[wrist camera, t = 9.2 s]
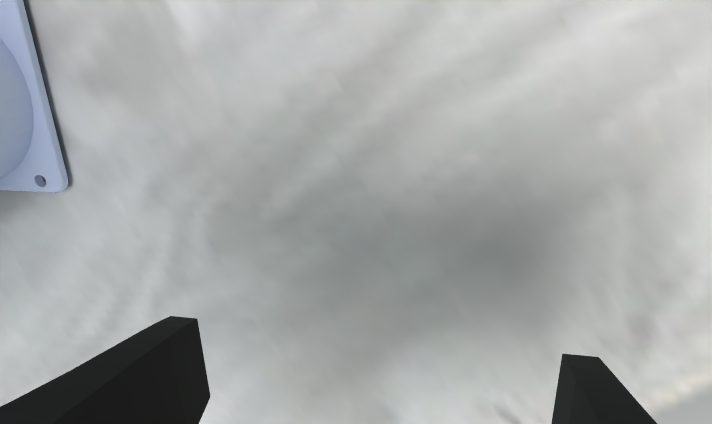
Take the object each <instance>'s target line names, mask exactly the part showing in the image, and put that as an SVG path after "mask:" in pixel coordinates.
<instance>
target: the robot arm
mask: <svg viewBox="0 0 712 424" xmlns="http://www.w3.org/2000/svg"><path fill="white" fill-rule="evenodd" d="M42 176H43V177H44V178H45V180H46V182H44V181H43V179H42ZM67 186H68V177H67V173H66V169H65V165H64V161H63V157H62V153H61V149H60V145H59V141H58V137H57V133H56V129H55V125H54V121H53V117H52V113H51V110H50V106H49V102H48V98H47V94H46V90H45V86H44V82H43V78H42V74H41V70H40V66H39V62H38V58H37V54H36V50H35V46H34V42H33V38H32V34H31V30H30V26H29V22H28V18H27V14H26V10H25V6H24V2H23V0H0V190H9V191H29V192H50V193H56V192H60V191H62V190H64V189H66V188H67ZM209 399H210V392H209V386H208V380H207V374H206V368H205V362H204V356H203V351H202V345H201V339H200V333H199V327H198V321H197V319H194V318H184V317H174V316H170V317H168V318H166V319H164V320H161V321H159V322H157V323H155V324H153V325H152V326H150V327H148V328H146V329H144V330H142V331H140V332H139V333H137V334H135V335H133V336H131V337H130V338H128V339H126V340H124V341H122V342H121V343H119V344H117V345H115V346H114V347H112V348H110V349H108V350H107V351H105V352H103V353H101V354H99V355H98V356H96V357H94V358H92V359H90V360H89V361H87V362H85V363H83V364H82V365H80V366H78V367H76V368H74V369H73V370H71V371H69V372H67V373H65V374H63V375H61V376H59V377H57V378H56V379H54V380H52V381H50V382H48V383H46V384H44V385H42V386H40V387H38V388H36V389H34V390H32V391H31V392H29V393H27V394H25V395H23V396H21V397H19V398H17V399H15V400H13V401H11V402H9V403H7V404H5V405H3V406H1V407H0V424H199V422H200V419H201V417H202V415H203V412H204V410H205V408H206V405H207V403H208V401H209ZM552 424H657V423H656V422H655V421H654V420H653V419H652V417H651V416H650V415H649V414H648V413H647V412H646V411H645V410H644V408H643V407H642V406H641V405H640V404H639V403H638V402H637V401H636V399H635V398H634V397H633V396H632V395H631V394H630V393H629V391H628V390H627V389H626V388H625V387H624V386H623V384H622V383H621V382H620V381H619V380H618V379H617V378H616V376H615V375H614V374H613V373H612V372H611V371H610V370H609V368H608V367H607V366H606V365H605V364H604V363H603V362H602V361H601V359H600V358H599V357H591V356H581V355H570V354H562V360H561V367H560V373H559V380H558V386H557V392H556V399H555V405H554V412H553V418H552Z"/></svg>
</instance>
